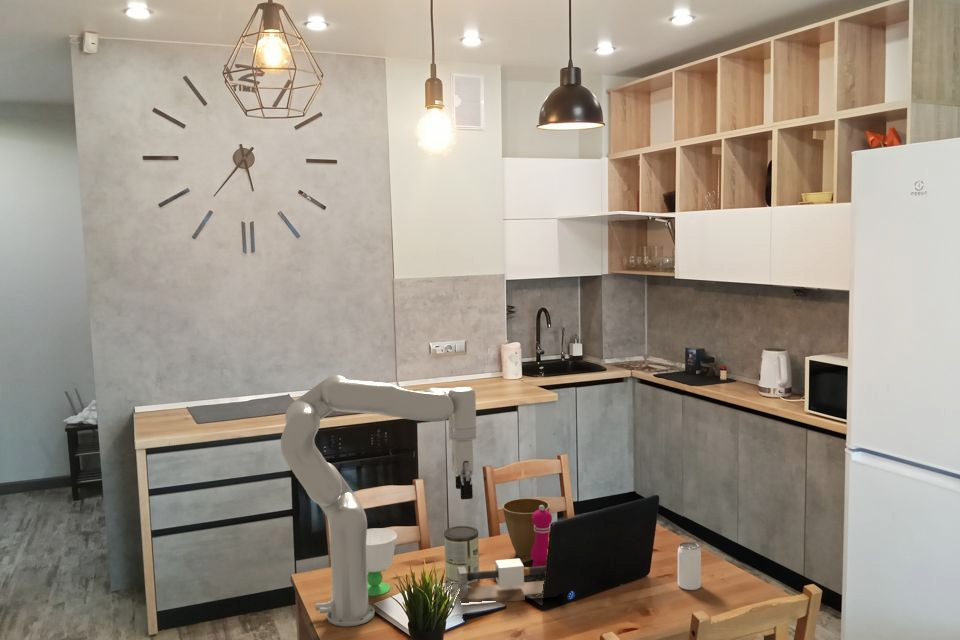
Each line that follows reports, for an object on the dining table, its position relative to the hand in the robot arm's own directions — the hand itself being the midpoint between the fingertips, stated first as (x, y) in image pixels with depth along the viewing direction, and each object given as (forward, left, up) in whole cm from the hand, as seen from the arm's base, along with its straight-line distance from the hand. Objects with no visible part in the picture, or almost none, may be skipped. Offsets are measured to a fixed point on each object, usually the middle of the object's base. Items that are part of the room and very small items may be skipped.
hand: (464, 493), depth 222 cm
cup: (-25, +12, -31) cm, 41 cm away
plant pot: (+24, +29, -31) cm, 48 cm away
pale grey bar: (+12, 0, -30) cm, 33 cm away
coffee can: (+1, +15, -31) cm, 34 cm away
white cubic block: (+12, 0, -27) cm, 29 cm away
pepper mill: (+26, +16, -31) cm, 43 cm away
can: (+64, -5, -31) cm, 71 cm away
